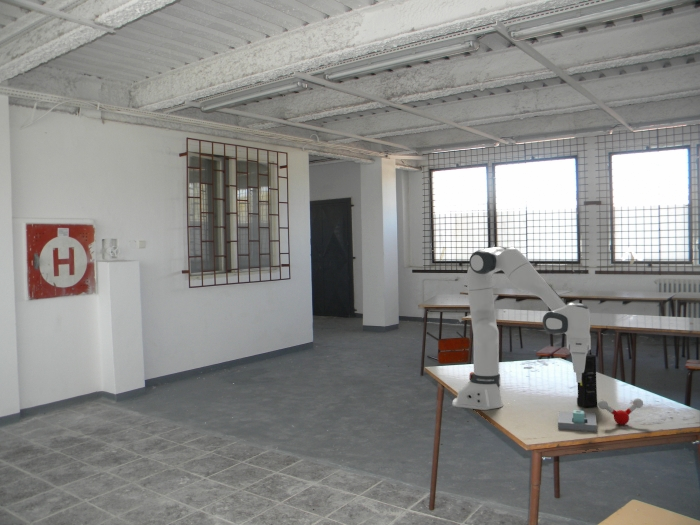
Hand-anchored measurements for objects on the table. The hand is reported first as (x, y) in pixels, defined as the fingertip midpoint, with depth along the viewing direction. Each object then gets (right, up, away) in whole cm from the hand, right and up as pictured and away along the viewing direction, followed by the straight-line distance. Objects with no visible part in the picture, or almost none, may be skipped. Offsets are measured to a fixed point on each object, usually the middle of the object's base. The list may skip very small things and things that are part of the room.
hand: (578, 379), depth 231 cm
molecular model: (+18, -19, +2) cm, 26 cm away
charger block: (0, -19, +1) cm, 19 cm away
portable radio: (+15, -18, +29) cm, 37 cm away
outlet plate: (+1, -19, +4) cm, 19 cm away
